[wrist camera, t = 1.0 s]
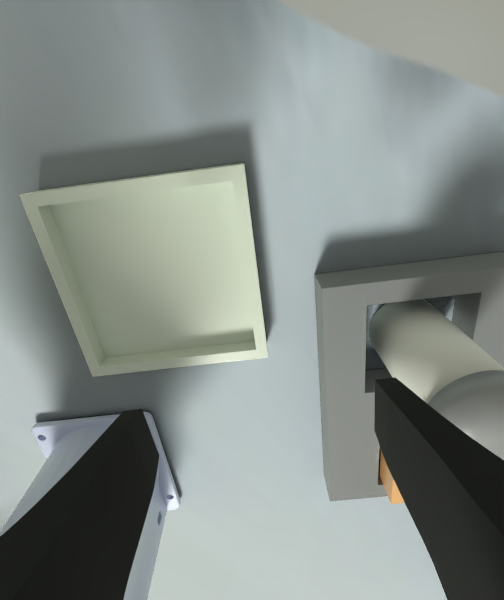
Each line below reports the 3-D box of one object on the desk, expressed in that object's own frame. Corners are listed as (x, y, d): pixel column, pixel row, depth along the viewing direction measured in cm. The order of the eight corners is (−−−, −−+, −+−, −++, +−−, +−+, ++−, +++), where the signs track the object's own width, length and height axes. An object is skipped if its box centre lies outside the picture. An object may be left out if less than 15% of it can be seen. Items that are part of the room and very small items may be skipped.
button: (424, 470, 23) (440, 499, 21) (379, 475, 23) (391, 503, 21) (428, 438, 21) (445, 466, 19) (381, 443, 21) (393, 471, 20)
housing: (461, 462, 24) (478, 487, 23) (324, 474, 25) (330, 501, 23) (504, 251, 18) (533, 263, 16) (314, 274, 18) (321, 288, 16)
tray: (266, 342, 20) (268, 357, 18) (102, 361, 20) (92, 376, 19) (244, 162, 16) (244, 164, 14) (37, 190, 16) (18, 194, 15)
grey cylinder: (437, 354, 20) (541, 471, 13) (364, 362, 21) (427, 481, 13) (445, 288, 19) (572, 381, 11) (365, 297, 19) (439, 395, 11)
